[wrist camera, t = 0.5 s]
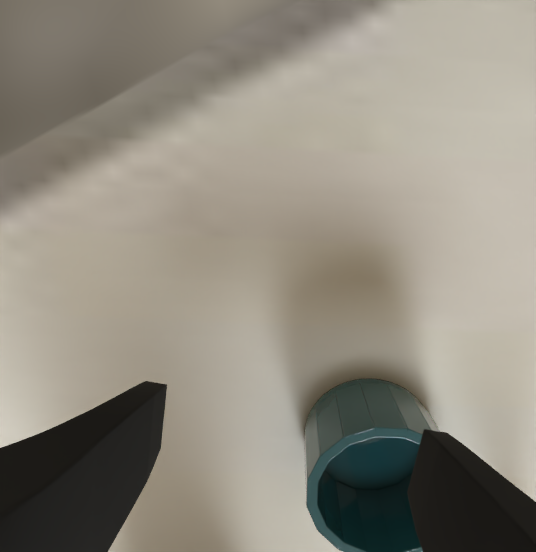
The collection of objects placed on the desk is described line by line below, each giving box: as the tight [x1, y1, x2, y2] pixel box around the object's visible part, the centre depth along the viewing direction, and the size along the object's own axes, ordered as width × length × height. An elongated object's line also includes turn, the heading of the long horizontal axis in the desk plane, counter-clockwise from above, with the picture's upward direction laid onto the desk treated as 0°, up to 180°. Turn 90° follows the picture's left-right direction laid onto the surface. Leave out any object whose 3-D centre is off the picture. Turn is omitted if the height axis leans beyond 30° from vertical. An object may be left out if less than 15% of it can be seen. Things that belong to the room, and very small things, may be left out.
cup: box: [305, 379, 440, 552], centre depth 19 cm, size 7×7×4 cm
